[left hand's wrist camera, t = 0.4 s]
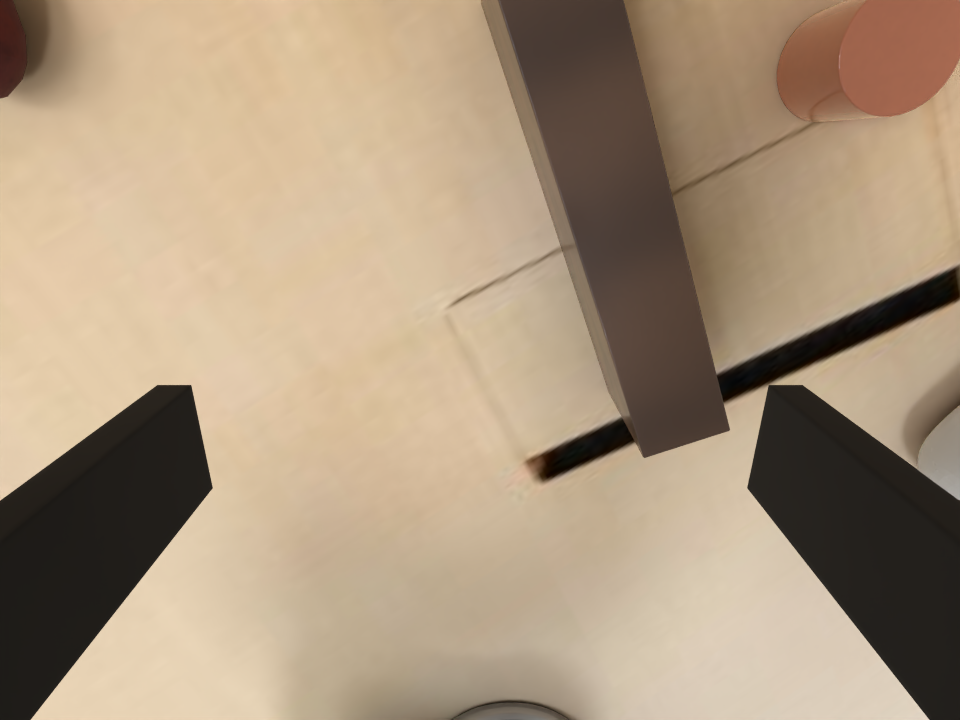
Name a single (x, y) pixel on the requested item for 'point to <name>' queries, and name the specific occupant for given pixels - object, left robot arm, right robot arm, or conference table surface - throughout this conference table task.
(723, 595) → the conference table surface
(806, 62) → the salmon pink cylinder
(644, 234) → the walnut beam
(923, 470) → the projector
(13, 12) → the dark brown ball
